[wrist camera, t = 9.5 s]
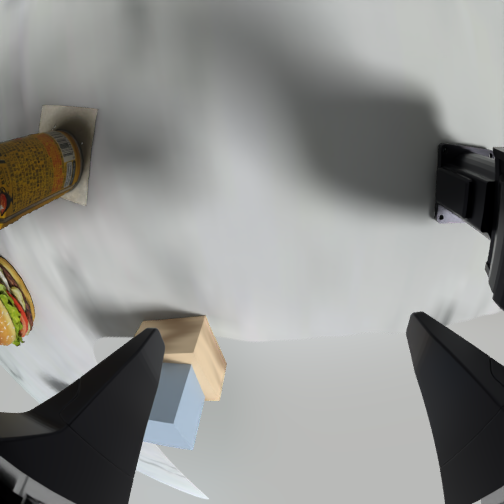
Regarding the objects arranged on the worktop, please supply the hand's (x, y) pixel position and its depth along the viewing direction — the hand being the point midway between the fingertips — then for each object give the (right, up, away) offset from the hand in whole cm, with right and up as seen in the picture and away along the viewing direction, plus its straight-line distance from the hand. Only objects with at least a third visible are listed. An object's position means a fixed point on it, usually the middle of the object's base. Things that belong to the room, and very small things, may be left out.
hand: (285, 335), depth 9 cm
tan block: (-8, -7, +18) cm, 21 cm away
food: (-36, -2, +19) cm, 41 cm away
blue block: (-8, -9, +14) cm, 18 cm away
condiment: (-18, +12, +10) cm, 23 cm away
